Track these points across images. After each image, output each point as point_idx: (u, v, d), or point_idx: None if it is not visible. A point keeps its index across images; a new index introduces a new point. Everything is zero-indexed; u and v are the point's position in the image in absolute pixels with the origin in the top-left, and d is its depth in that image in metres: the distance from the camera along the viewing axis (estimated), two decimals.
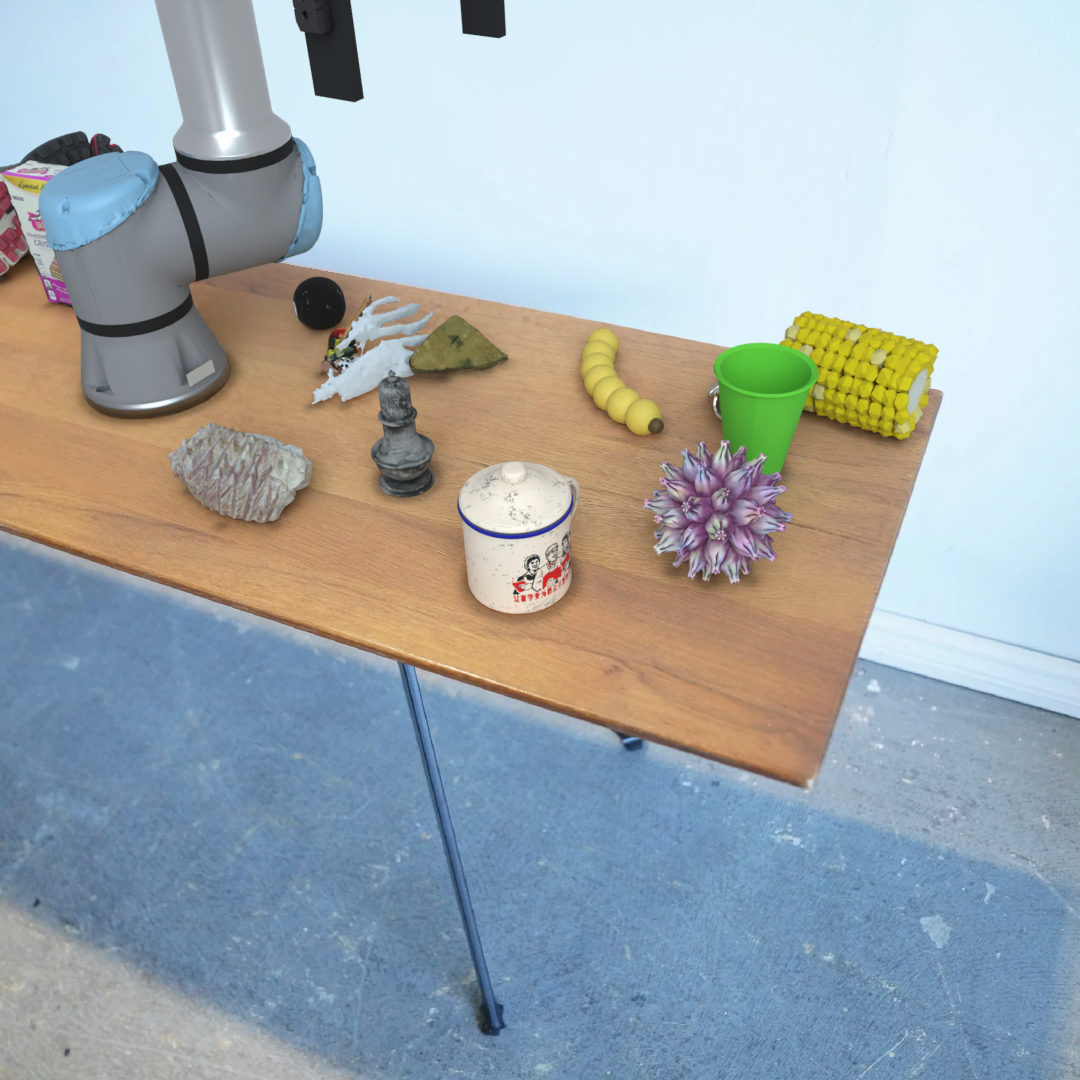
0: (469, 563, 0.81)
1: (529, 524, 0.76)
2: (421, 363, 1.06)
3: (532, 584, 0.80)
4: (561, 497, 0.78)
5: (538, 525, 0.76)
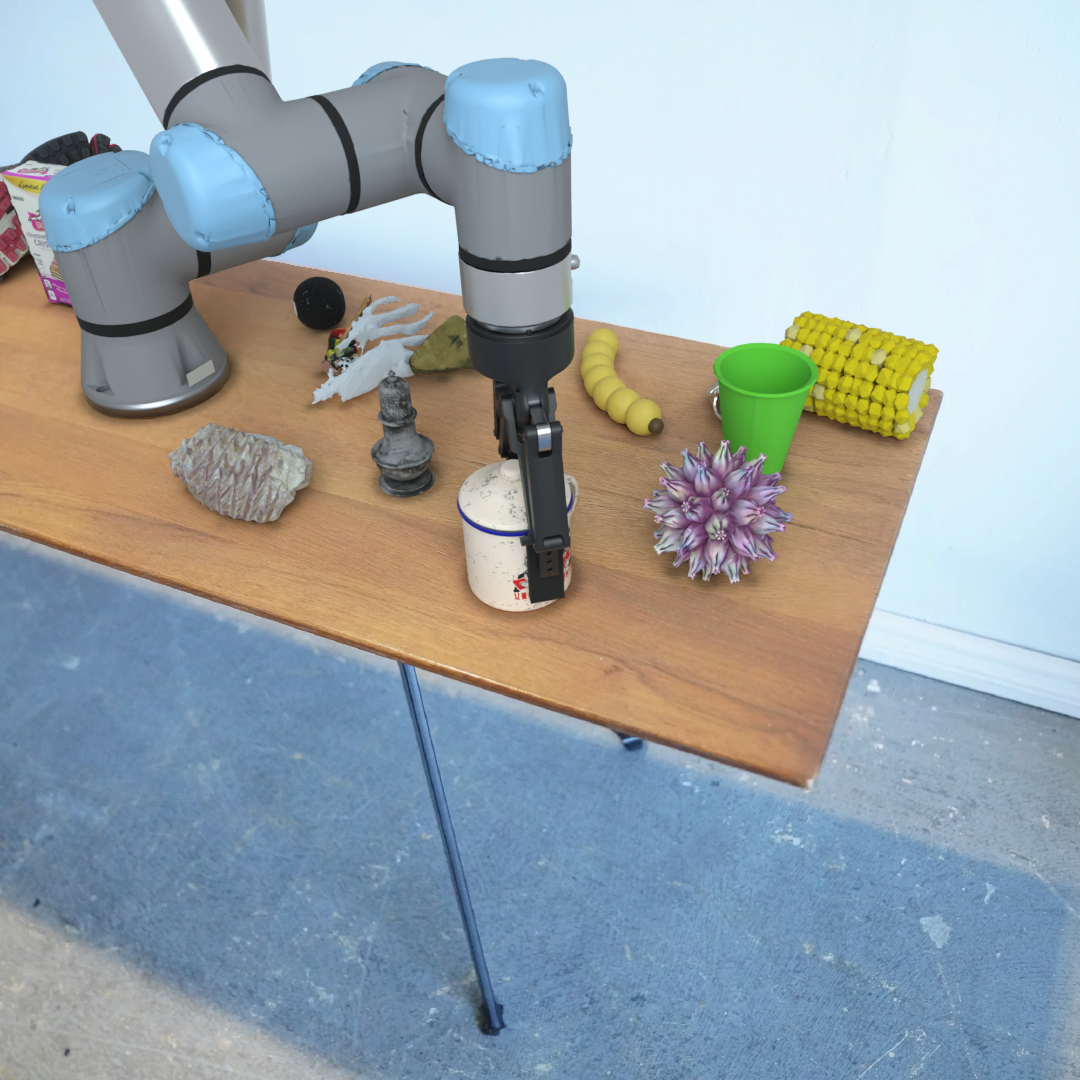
0: (469, 561, 0.81)
1: None
2: (421, 363, 1.06)
3: None
4: None
5: None
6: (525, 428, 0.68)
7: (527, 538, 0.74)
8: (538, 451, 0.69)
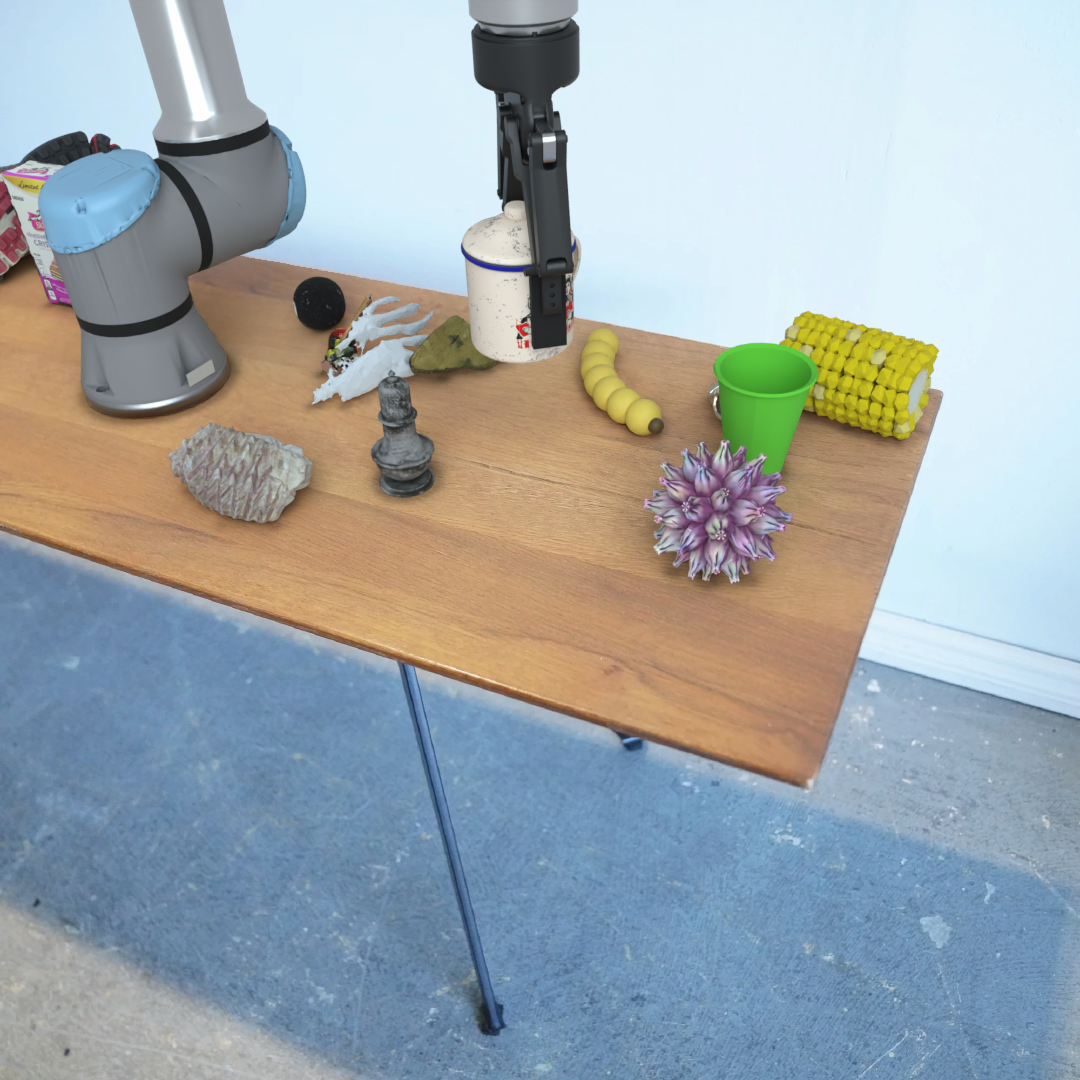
0: (473, 311, 0.81)
1: None
2: (421, 363, 1.06)
3: None
4: None
5: None
6: (530, 135, 0.68)
7: None
8: (543, 161, 0.69)
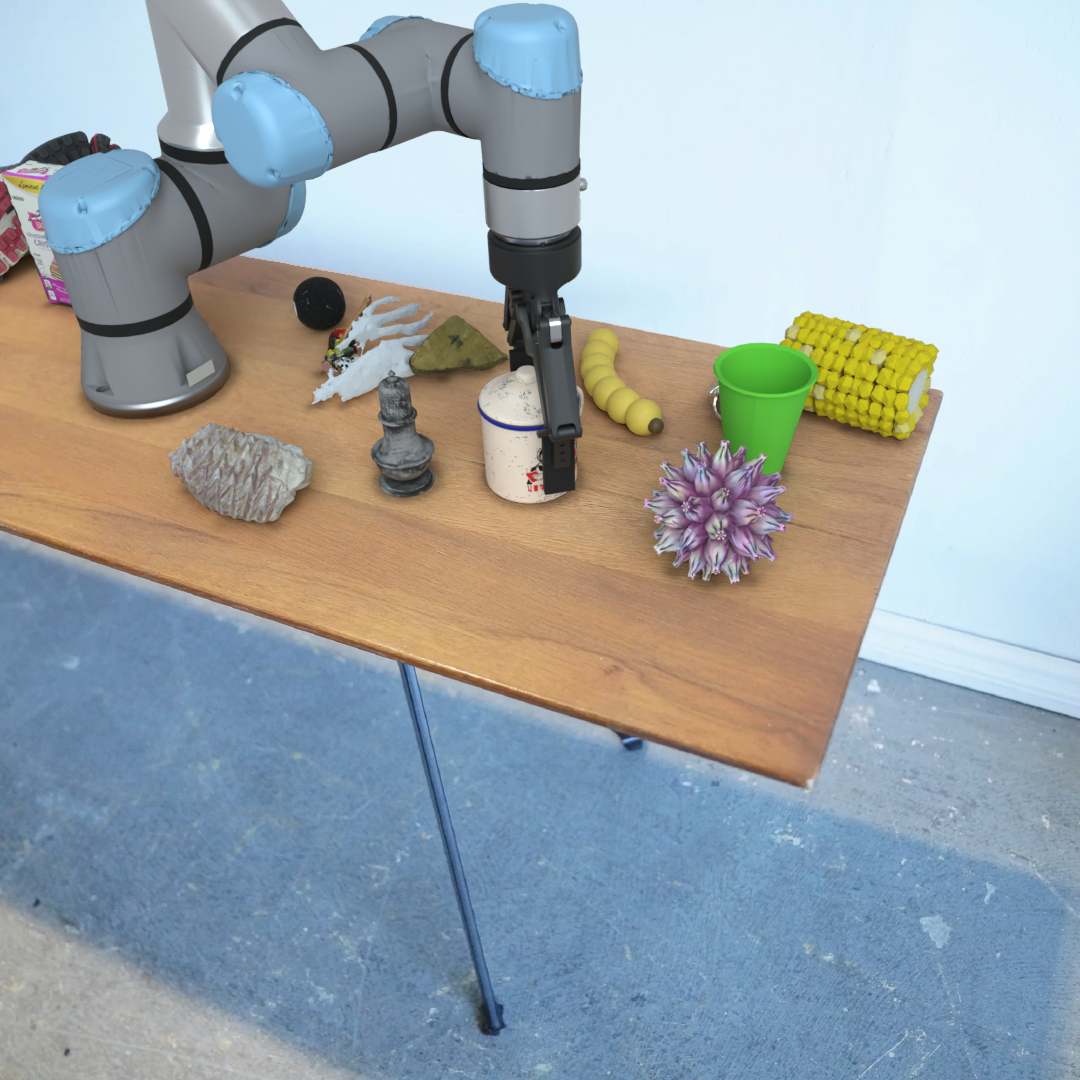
0: (488, 458, 0.92)
1: (541, 418, 0.87)
2: (421, 363, 1.06)
3: None
4: None
5: None
6: (538, 319, 0.78)
7: None
8: (550, 341, 0.79)
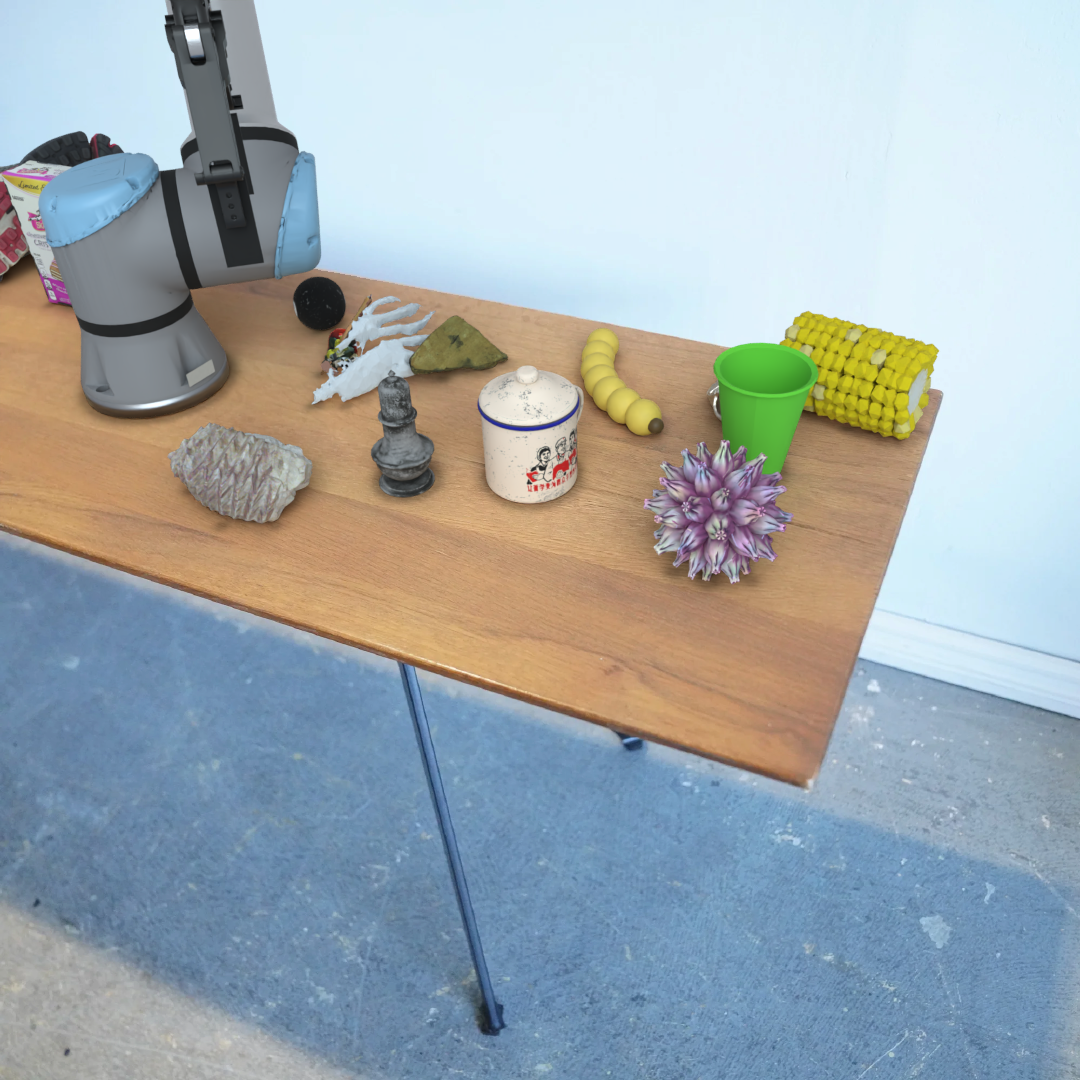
0: (487, 458, 0.92)
1: (541, 418, 0.87)
2: (421, 363, 1.06)
3: (544, 475, 0.91)
4: (569, 397, 0.89)
5: (549, 419, 0.87)
6: (171, 27, 0.66)
7: (201, 174, 0.70)
8: (190, 55, 0.66)
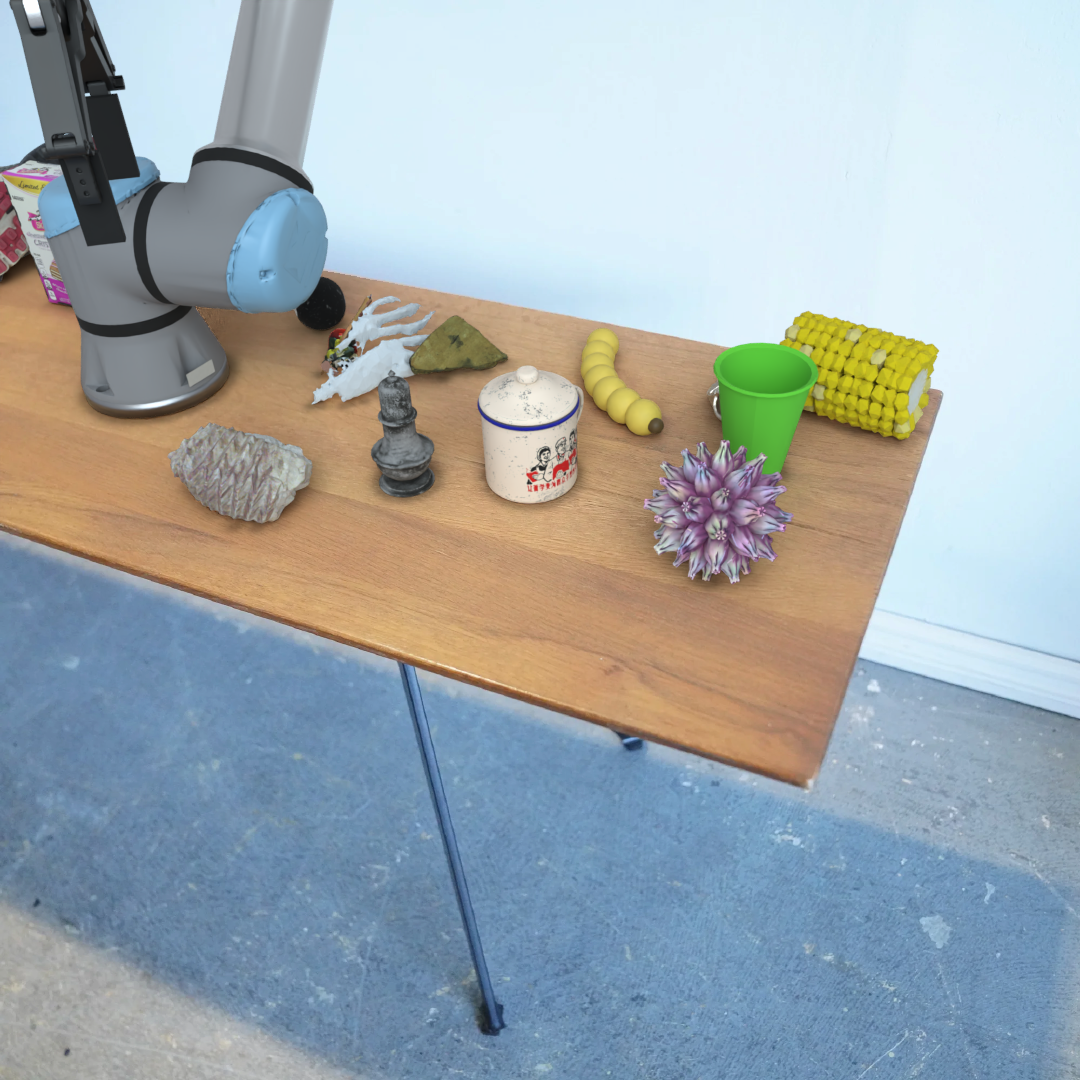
0: (488, 458, 0.92)
1: (541, 418, 0.87)
2: (421, 363, 1.06)
3: (544, 475, 0.91)
4: (569, 397, 0.89)
5: (549, 419, 0.87)
6: None
7: None
8: (29, 25, 0.65)
